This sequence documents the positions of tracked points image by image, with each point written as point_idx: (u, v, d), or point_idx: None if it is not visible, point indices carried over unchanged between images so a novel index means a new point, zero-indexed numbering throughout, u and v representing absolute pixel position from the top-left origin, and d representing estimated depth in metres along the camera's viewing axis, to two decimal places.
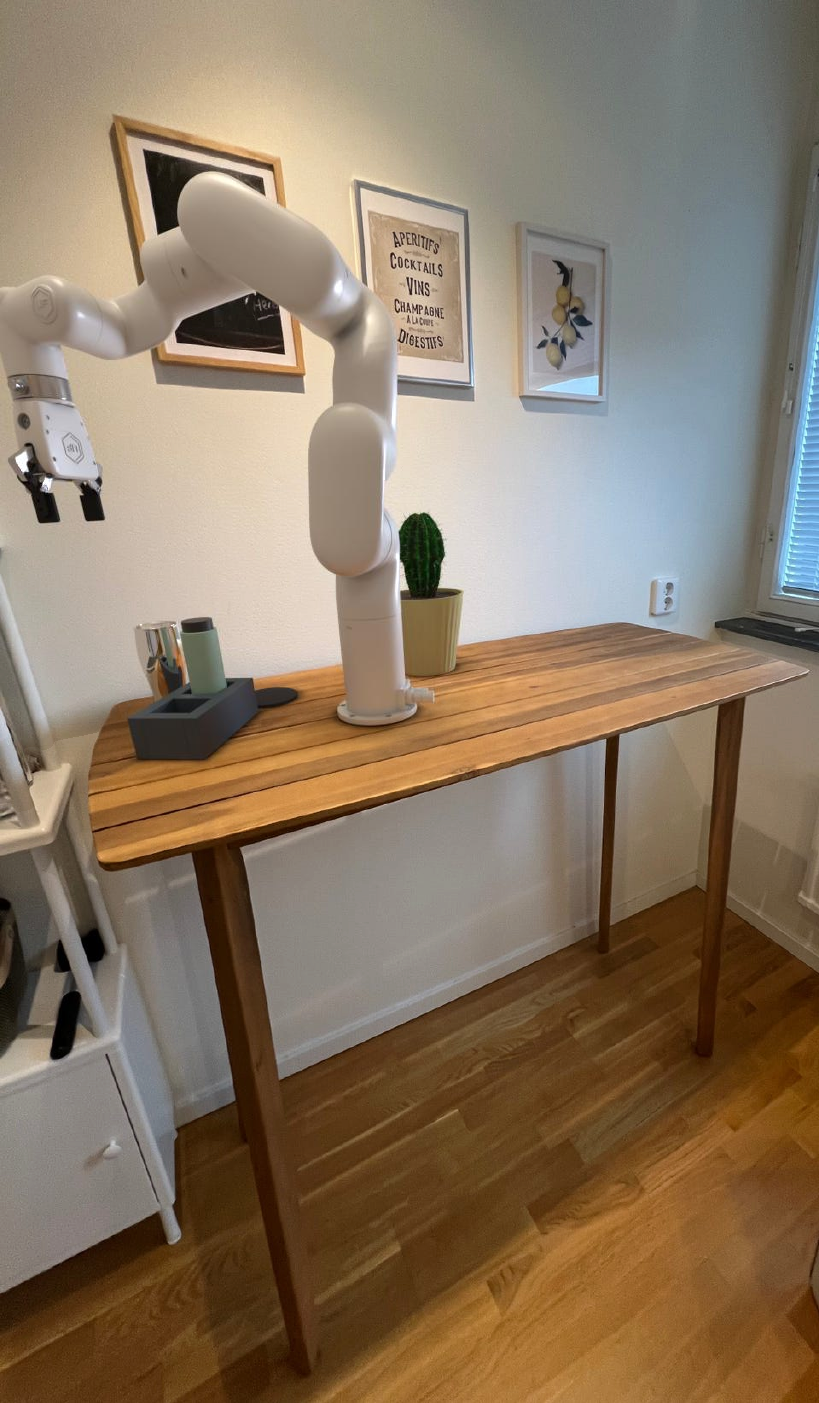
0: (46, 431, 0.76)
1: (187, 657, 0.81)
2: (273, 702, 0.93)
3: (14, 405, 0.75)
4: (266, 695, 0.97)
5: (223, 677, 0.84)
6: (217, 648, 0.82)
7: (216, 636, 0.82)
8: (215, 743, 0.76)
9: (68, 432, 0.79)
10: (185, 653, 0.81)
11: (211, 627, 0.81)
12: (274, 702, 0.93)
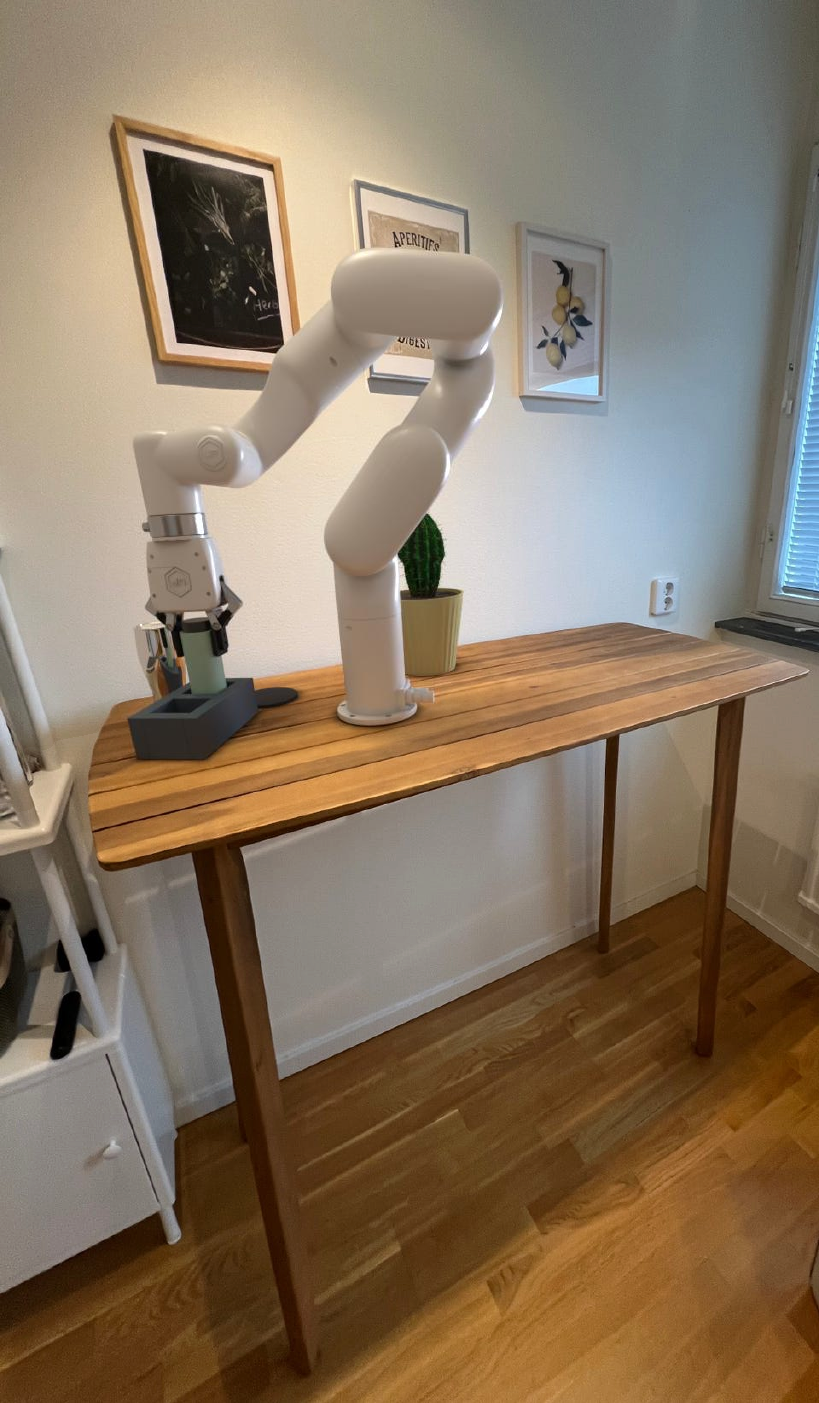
0: (149, 570, 0.77)
1: (186, 657, 0.81)
2: (273, 702, 0.93)
3: None
4: (266, 695, 0.97)
5: (223, 677, 0.84)
6: None
7: None
8: (215, 743, 0.76)
9: (174, 567, 0.76)
10: (185, 653, 0.81)
11: (211, 627, 0.81)
12: (274, 702, 0.93)
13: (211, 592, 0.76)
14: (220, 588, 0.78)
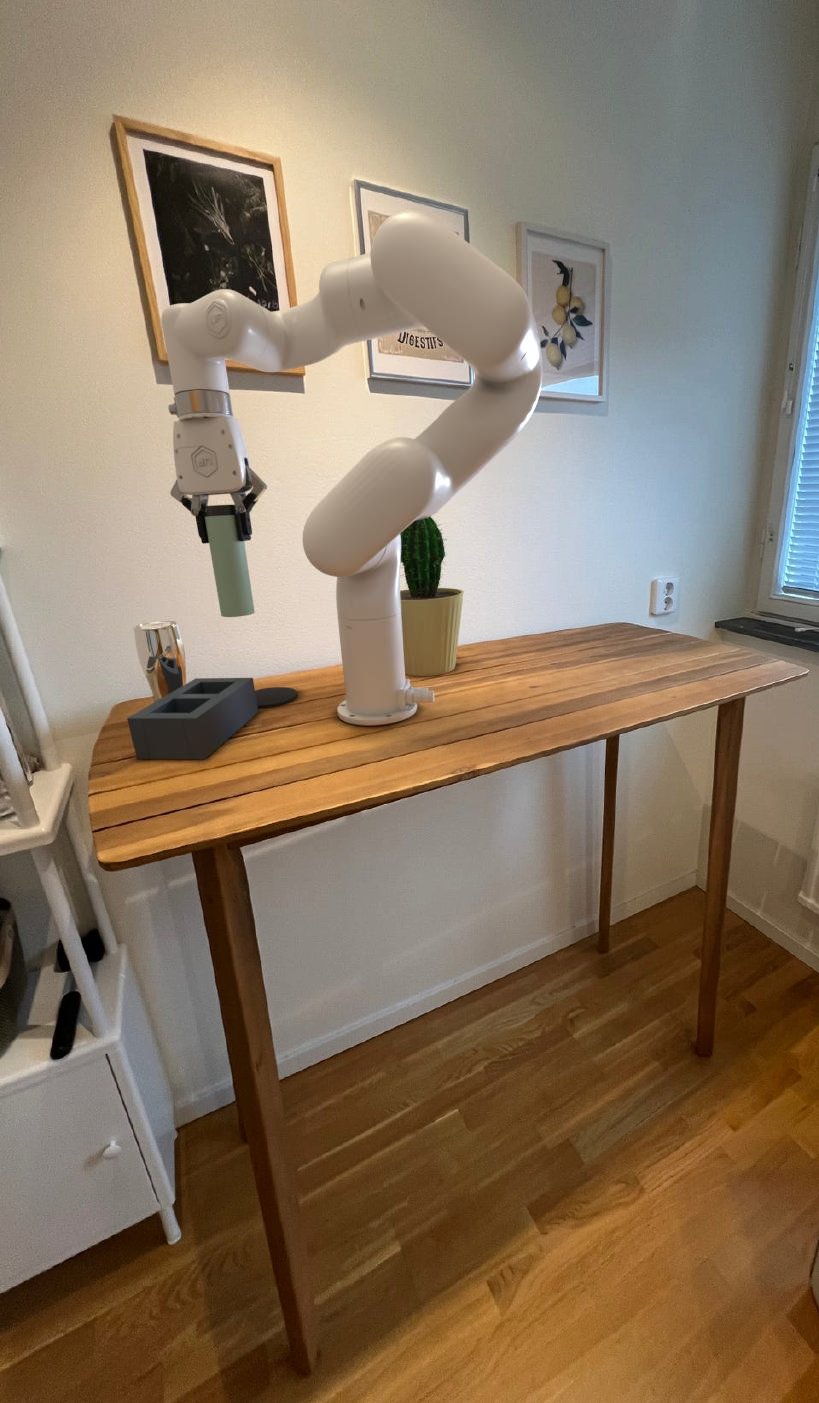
0: (176, 451, 0.78)
1: (211, 541, 0.82)
2: (273, 702, 0.93)
3: None
4: (266, 695, 0.97)
5: (246, 565, 0.85)
6: None
7: None
8: (215, 743, 0.76)
9: (200, 446, 0.78)
10: (210, 537, 0.82)
11: (235, 512, 0.83)
12: (274, 702, 0.93)
13: (237, 471, 0.78)
14: (245, 469, 0.80)
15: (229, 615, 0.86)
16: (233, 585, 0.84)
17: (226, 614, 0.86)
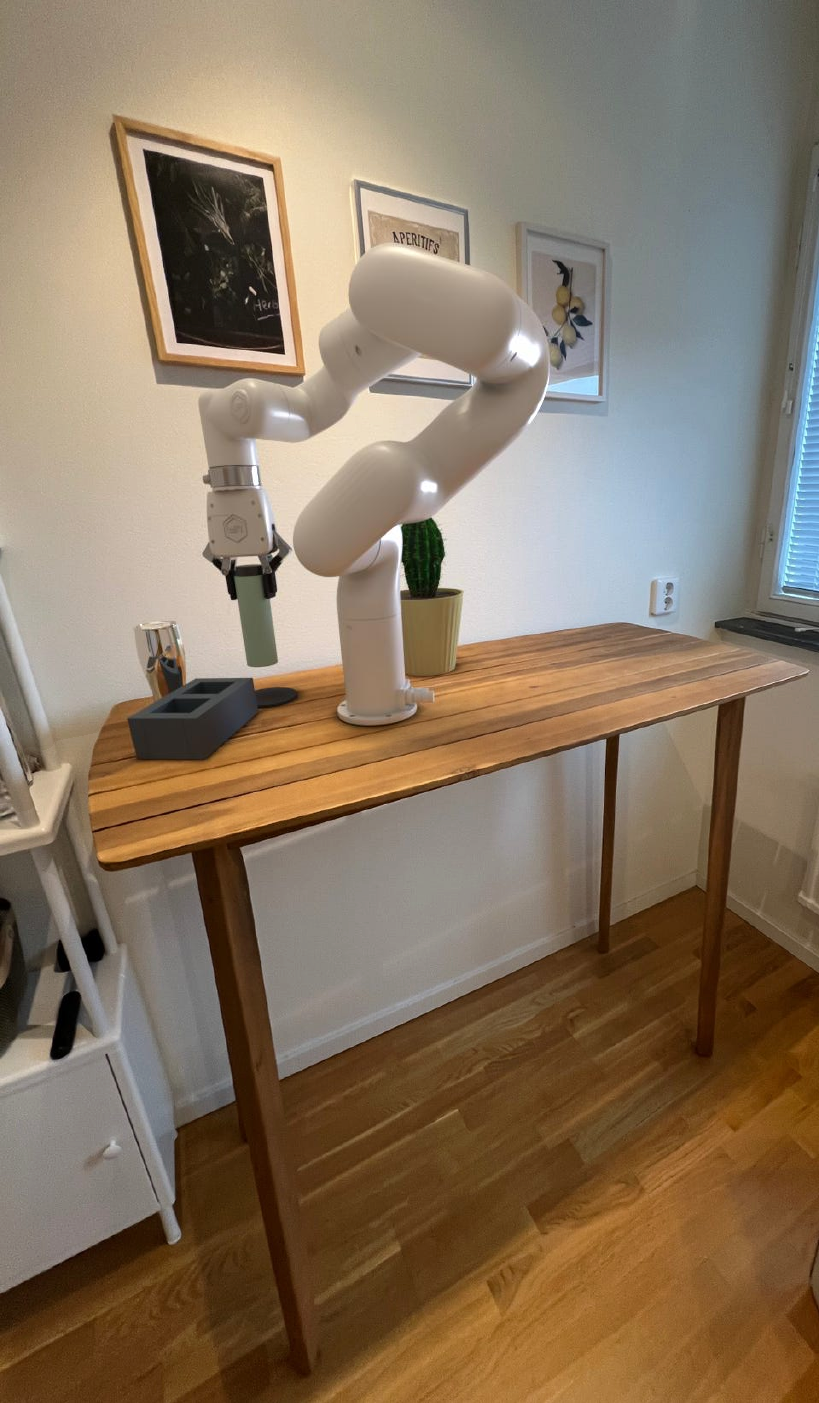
0: (209, 518, 0.85)
1: (240, 599, 0.89)
2: (273, 702, 0.93)
3: None
4: (266, 695, 0.97)
5: (271, 619, 0.92)
6: None
7: None
8: (215, 743, 0.76)
9: (232, 515, 0.84)
10: (239, 595, 0.89)
11: (262, 572, 0.89)
12: (274, 702, 0.93)
13: (265, 538, 0.85)
14: (272, 535, 0.86)
15: (255, 665, 0.92)
16: (259, 638, 0.91)
17: (252, 665, 0.92)
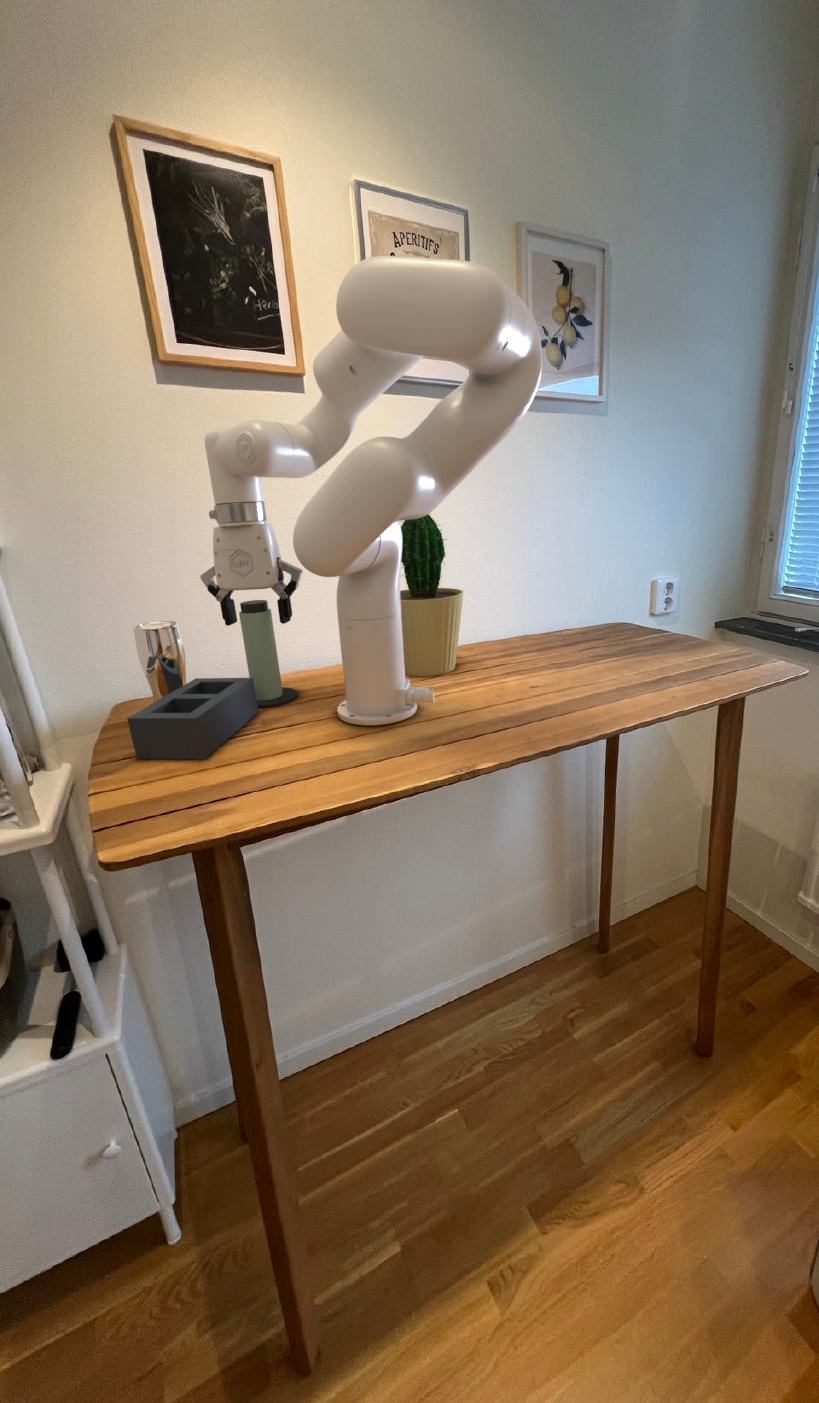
0: (216, 553, 0.87)
1: (245, 634, 0.91)
2: (273, 702, 0.93)
3: None
4: None
5: (276, 653, 0.94)
6: (272, 627, 0.92)
7: (271, 616, 0.92)
8: (215, 743, 0.76)
9: (238, 549, 0.86)
10: (244, 631, 0.91)
11: (267, 608, 0.91)
12: (274, 702, 0.93)
13: (270, 571, 0.86)
14: (277, 568, 0.88)
15: (260, 699, 0.94)
16: (264, 673, 0.93)
17: (258, 698, 0.94)
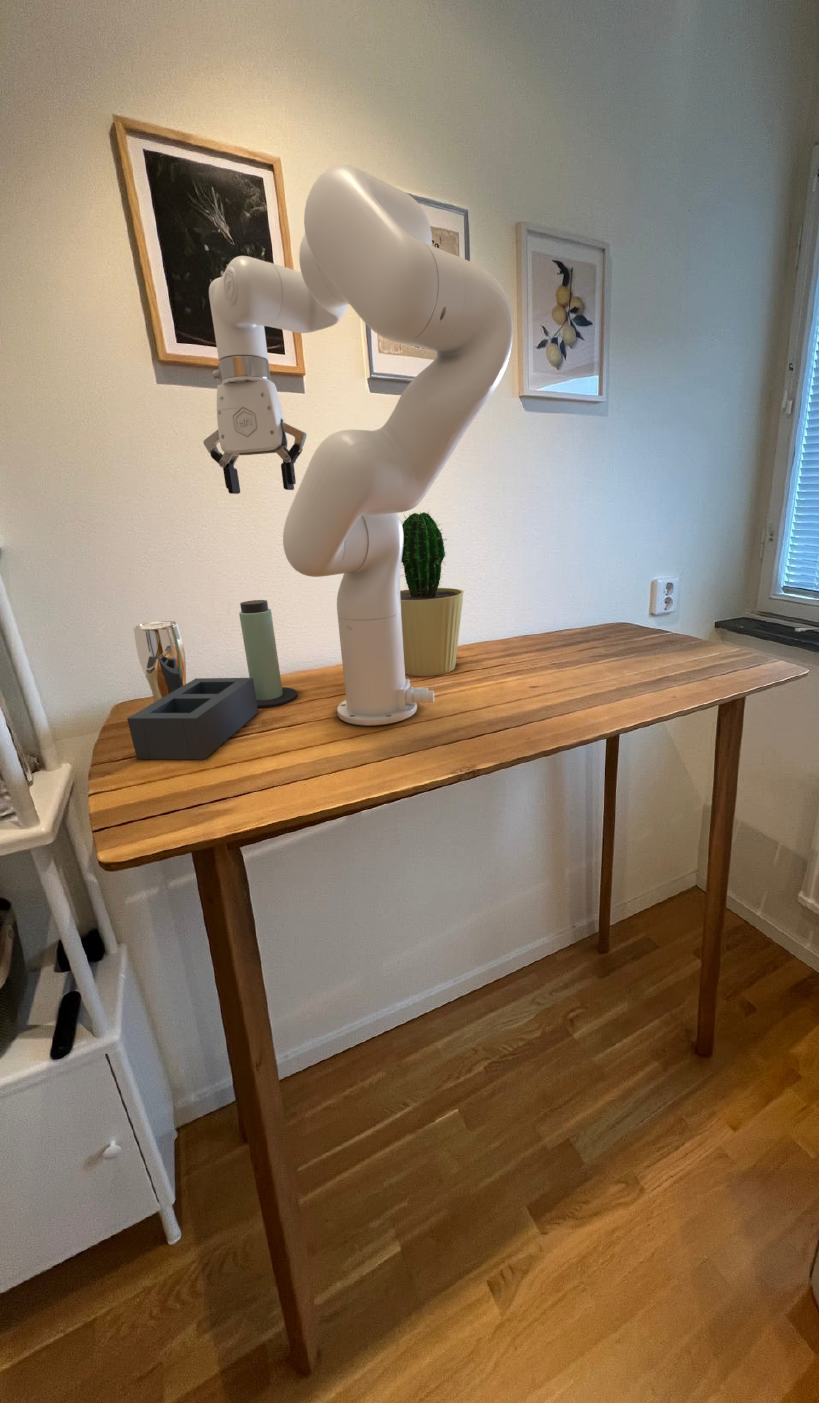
0: (219, 412, 0.86)
1: (245, 634, 0.91)
2: (273, 702, 0.93)
3: None
4: None
5: (276, 653, 0.94)
6: (272, 627, 0.92)
7: (271, 616, 0.92)
8: (215, 743, 0.76)
9: (241, 407, 0.85)
10: (244, 631, 0.91)
11: (267, 608, 0.91)
12: (274, 702, 0.93)
13: (274, 431, 0.86)
14: (281, 430, 0.87)
15: (260, 699, 0.94)
16: (264, 673, 0.93)
17: (258, 698, 0.94)
